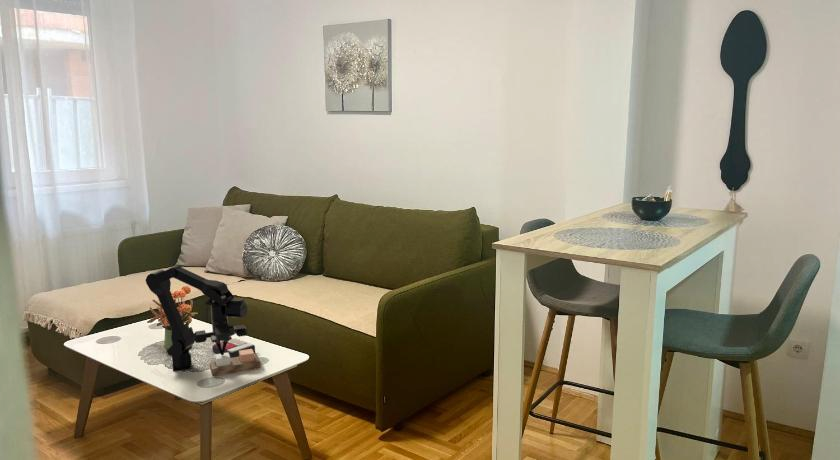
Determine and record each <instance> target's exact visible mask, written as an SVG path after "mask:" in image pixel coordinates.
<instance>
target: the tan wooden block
mask: <svg viewBox="0 0 840 460" xmlns="http://www.w3.org/2000/svg"><path fill="white" fill-rule="evenodd" d="M239 360H240V363H244V362H250V361H254V352H253V350H252V349H247V350H241V351H239Z"/></svg>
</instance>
